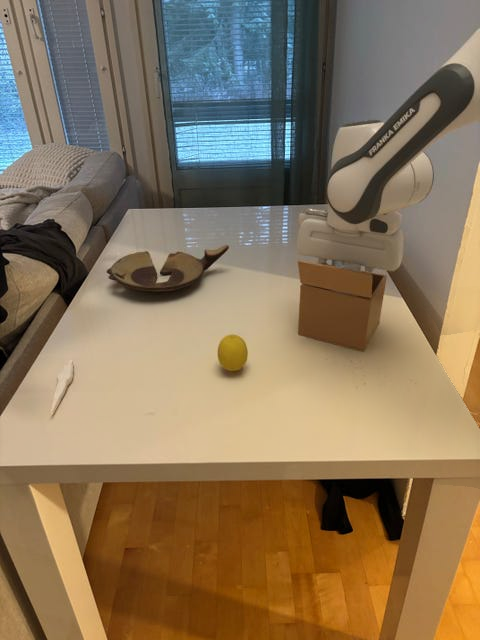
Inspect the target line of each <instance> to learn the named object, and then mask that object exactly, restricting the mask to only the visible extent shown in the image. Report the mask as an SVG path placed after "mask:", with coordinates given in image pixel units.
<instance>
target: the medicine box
mask: <svg viewBox="0 0 480 640" xmlns="http://www.w3.org/2000/svg"><path fill="white" fill-rule="evenodd" d="M330 265H331V266H333V267H338V268H343V269H348V270H353V271H359V272H361V271H362V270H361V269H362V266H361V265H360V264H355V263H350V262H344V261H334V260H331V264H330ZM331 291H333V292H338V293H342V294H347V295H352V296H356V297H358V295H353V294H349V293H344V292H339V291H335V290H331Z"/></svg>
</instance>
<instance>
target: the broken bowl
mask: <svg viewBox="0 0 480 640" xmlns="http://www.w3.org/2000/svg"><path fill="white" fill-rule="evenodd" d="M229 249H230V245H229V244H224V245H222V246H220V247H218V248H217V249H213V250H212V249H204V251H203V252H204V255H203V256H202V258H197V257H195V256H194V255H192V254H190V253H186V252H183V251H176V252H174V253H173V252H171V253H169V254H168V255H167V257H166V260H165V262H164V264H163V266H162V267H161V269H160V270H159V274H160V275H165V276H166V275H170V276H169V277H168V279H167V281H161V282H156V281H157V280H158V271H157V269H156V267H155V264H154V263H153V259H152V257H151V254H150V252H149V251H147V250H143V251H137V252H135V253H129V254H127V255H124V256H122V257H121V258H119V259H117V261H115V262H113V265H111V267H110V268H108V269H106V273H107V274H108V277H107V278H108V280H111V281H115V282H117V283H118V284H119V285H122V286H124V287H126V288H129V289H133V290H139V291H146V292H170V291H174V290H179V289H182V288H185V287H188V286H190V285H192V284H194V283H196V282H197V281H198V280H199V279H201V277H202V276H203V274H204V272H206V271H207V270H208V269H210V267H211V266H212V265H214V263H216V262H217V261H218V260H219V259H220V258H221V257H223V255H224V254H225V253H226V252H227V251H228V250H229ZM163 279H164V278H161V280H163Z"/></svg>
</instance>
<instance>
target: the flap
mask: <svg viewBox="0 0 480 640" xmlns="http://www.w3.org/2000/svg"><path fill="white" fill-rule="evenodd" d="M297 265H298V267H297V268H298V275H299V282H300V284H301V285H302V284H307V285H311V286H316V287H321V288H325V289H330V290H335V291H339V292H344V293H349V294H353V295H358V296H362V297H367V298H371V297H372V274H369V273H364V272H359V271H353V270H348V269H343V268H338V267H333V266H327V265H322V264H319V263H318V262H317V263H316V262H312V261H306V260H302V259H298V260H297Z"/></svg>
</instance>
